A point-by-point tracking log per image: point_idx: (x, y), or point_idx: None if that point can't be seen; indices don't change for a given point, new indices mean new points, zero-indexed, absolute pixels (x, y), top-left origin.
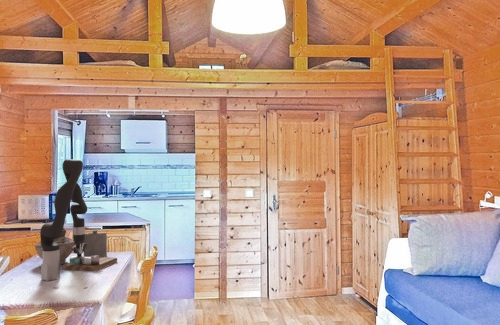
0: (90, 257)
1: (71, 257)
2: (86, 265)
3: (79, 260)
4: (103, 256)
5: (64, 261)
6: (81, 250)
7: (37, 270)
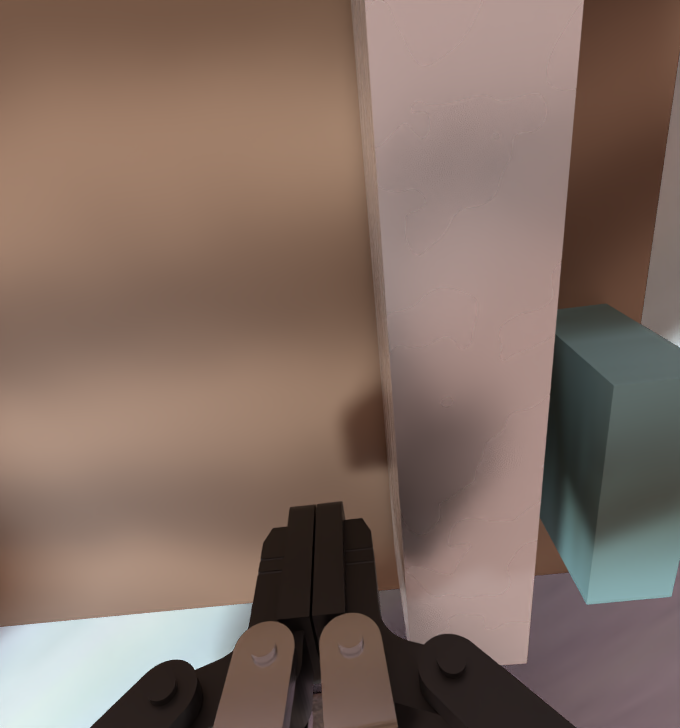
0: (453, 19)
1: (526, 632)
2: (588, 49)
3: (579, 353)
4: None
5: None
6: (269, 723)
7: (648, 720)
